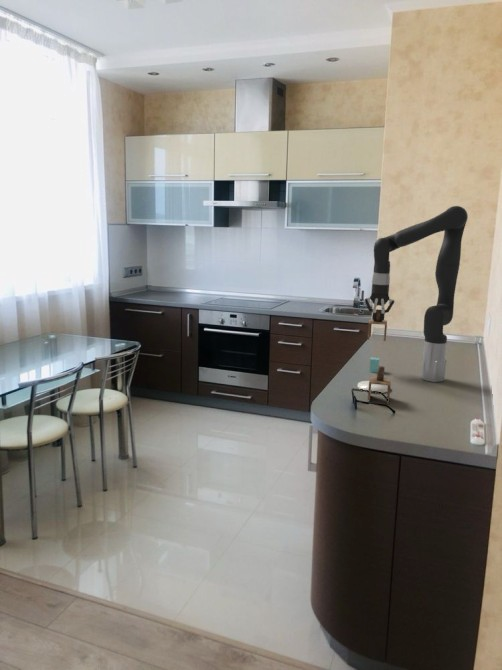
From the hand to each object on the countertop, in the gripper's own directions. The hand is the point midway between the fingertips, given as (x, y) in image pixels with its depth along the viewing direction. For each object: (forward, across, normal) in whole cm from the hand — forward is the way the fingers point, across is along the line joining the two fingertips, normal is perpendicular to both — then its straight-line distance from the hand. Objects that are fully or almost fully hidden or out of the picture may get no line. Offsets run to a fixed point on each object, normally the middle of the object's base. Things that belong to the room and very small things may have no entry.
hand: (377, 320), depth 251 cm
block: (+24, 0, 0) cm, 24 cm away
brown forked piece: (+8, 0, 0) cm, 8 cm away
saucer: (+24, 0, +27) cm, 36 cm away
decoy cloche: (+24, -3, +41) cm, 48 cm away
